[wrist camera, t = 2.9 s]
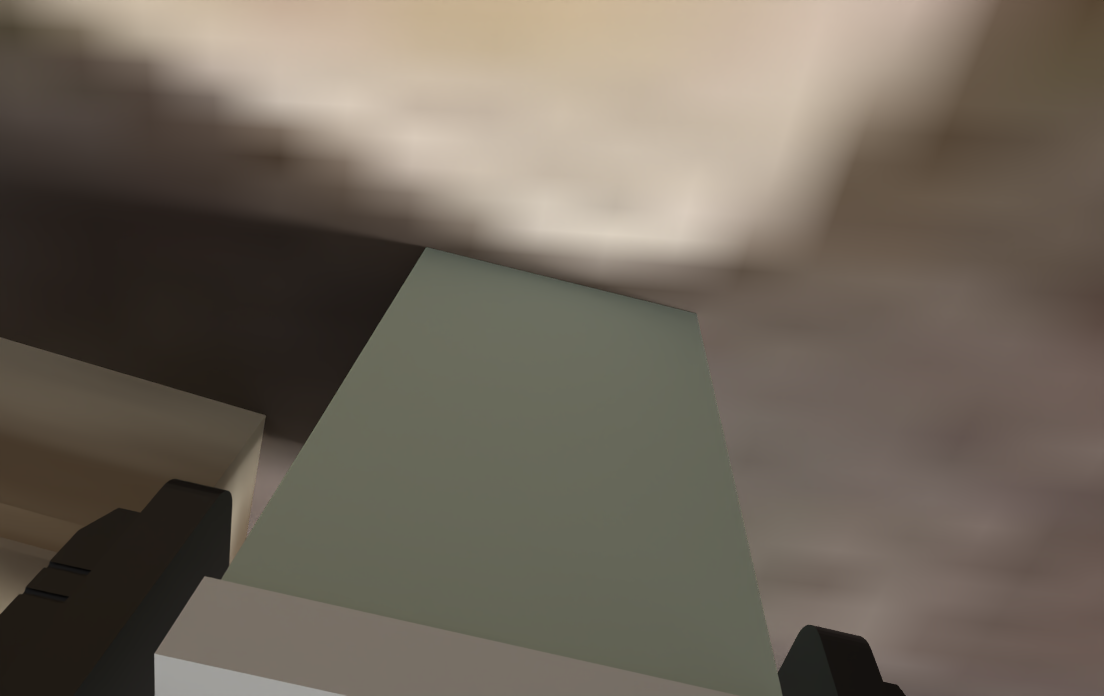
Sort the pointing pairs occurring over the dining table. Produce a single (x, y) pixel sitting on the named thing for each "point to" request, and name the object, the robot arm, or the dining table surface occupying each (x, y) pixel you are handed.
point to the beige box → (104, 453)
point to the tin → (496, 514)
